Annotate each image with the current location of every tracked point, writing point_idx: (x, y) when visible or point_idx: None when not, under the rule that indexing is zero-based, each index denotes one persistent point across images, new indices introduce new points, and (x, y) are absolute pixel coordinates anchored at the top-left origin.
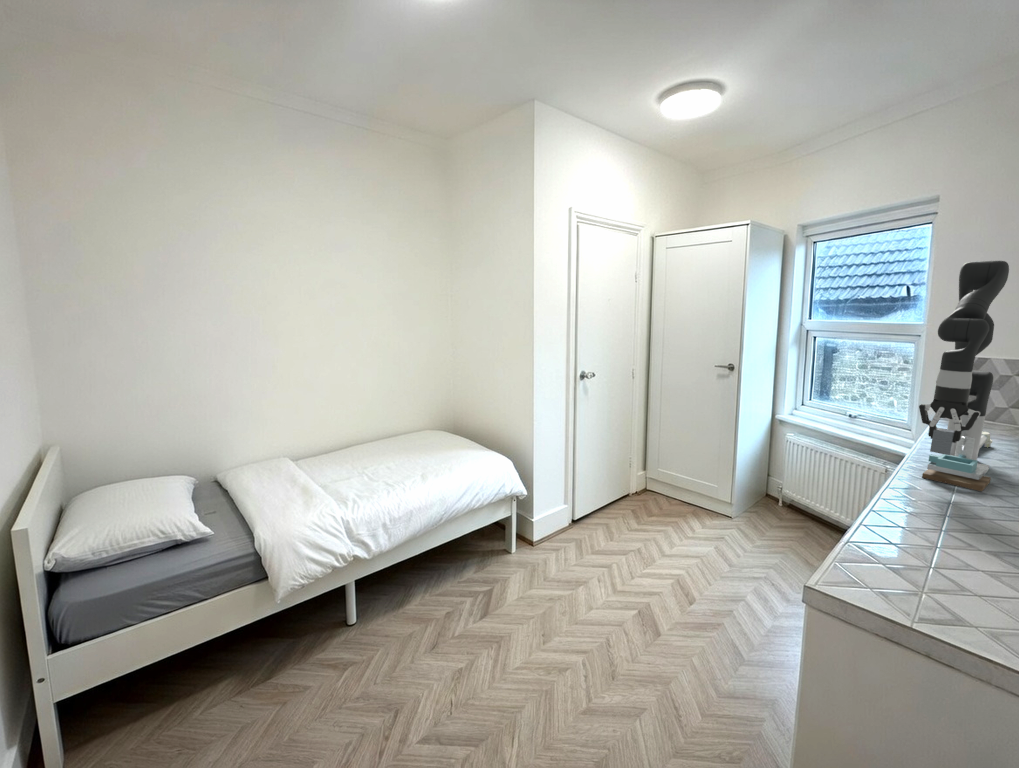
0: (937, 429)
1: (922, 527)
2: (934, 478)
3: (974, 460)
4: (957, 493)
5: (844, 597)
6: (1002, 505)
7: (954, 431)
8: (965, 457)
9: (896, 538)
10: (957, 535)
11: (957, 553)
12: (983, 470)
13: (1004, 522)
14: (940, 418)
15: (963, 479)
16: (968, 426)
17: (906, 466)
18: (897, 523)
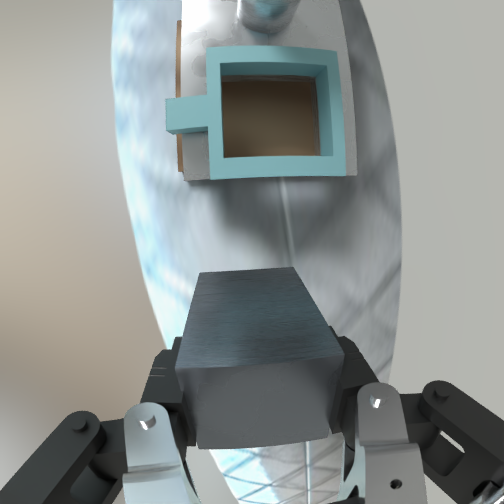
0: (212, 431)
1: (287, 473)
2: None
3: (328, 60)
4: (301, 260)
5: None
6: (389, 265)
7: (331, 428)
8: (283, 18)
9: (274, 499)
10: (323, 463)
11: (324, 486)
12: (348, 79)
13: (383, 376)
14: (183, 478)
15: (292, 121)
16: (428, 452)
17: (113, 74)
18: (261, 482)
